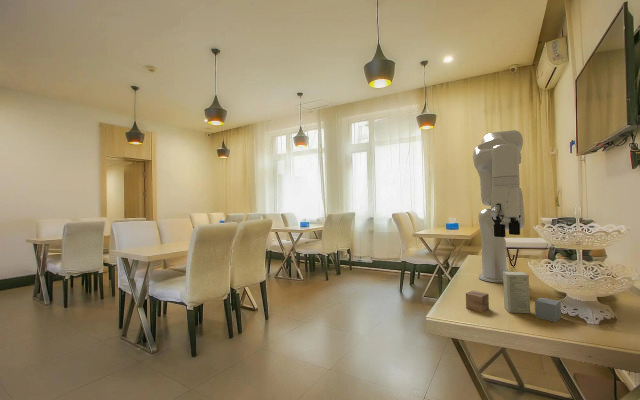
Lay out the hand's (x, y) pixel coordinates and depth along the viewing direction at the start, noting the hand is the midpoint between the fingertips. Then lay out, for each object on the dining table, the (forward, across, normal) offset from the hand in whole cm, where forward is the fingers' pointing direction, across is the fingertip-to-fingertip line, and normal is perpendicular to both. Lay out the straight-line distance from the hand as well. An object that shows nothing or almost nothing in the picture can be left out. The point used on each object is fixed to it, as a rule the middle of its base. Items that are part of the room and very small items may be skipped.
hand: (507, 235), depth 96 cm
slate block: (+24, -3, +9) cm, 26 cm away
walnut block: (+24, +6, -7) cm, 26 cm away
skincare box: (+24, -1, +2) cm, 24 cm away
